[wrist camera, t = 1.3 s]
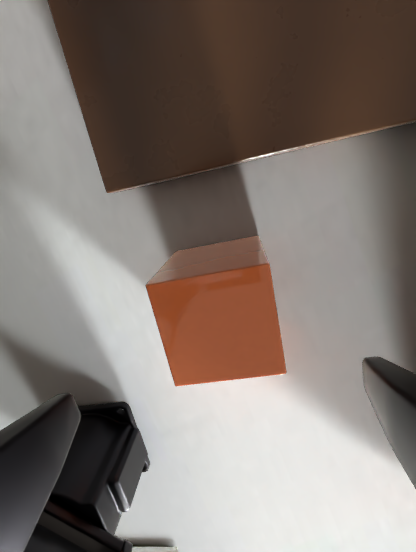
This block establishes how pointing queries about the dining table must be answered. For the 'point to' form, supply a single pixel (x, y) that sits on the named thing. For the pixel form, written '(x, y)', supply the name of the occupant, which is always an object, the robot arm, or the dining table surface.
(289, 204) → the dining table surface
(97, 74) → the board
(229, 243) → the terracotta block
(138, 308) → the dining table surface
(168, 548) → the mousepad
